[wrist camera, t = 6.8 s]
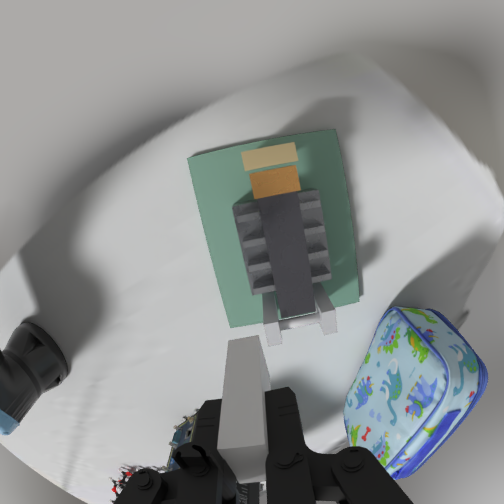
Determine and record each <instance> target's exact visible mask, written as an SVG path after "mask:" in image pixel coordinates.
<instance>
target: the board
mask: <svg viewBox="0 0 504 504" xmlns="http://www.w3.org/2000/svg"><path fill="white" fill-rule="evenodd" d="M187 160H188V164H189V169H190V173H191V178H192V182H193V187H194V191H195V195H196V199H197V204H198V208H199V212H200V216H201V220H202V224H203V228H204V232H205V236H206V240H207V244H208V248H209V252H210V256H211V259H212V263H213V267H214V271H215V275H216V278H217V282H218V286H219V289H220V293H221V297H222V300H223V304H224V307H225V311H226V314H227V318H228V321H229V325H230V328H234V327H240V326H246V325H252V324H258V323H263V325H264V329H265V333H266V338H267V342H268V346H274V345H280V344H282V337H281V330H286V329H291V328H296V327H301V326H305V325H310V324H315V323H319V324H320V327H321V329H322V332H323V334H324V335H327V334H332V333H336V332H337V321H336V310H335V307H340V306H344V305H348V304H352V303H356V302H359V286H358V273H357V262H356V252H355V243H354V234H353V226H352V219H351V212H350V205H349V198H348V192H347V186H346V180H345V174H344V169H343V163H342V158H341V153H340V148H339V144H338V139H337V134H336V130H335V129H332V130H324V131H316V132H309V133H303V134H296V135H290V136H284V137H279V138H273V139H268V140H263V141H258V142H253V143H248V144H243V145H238V146H234V147H230V148H225V149H221V150H217V151H213V152H209V153H205V154H201V155H197V156H193V157H190V158H187ZM290 165H296V168H297V173H298V178H299V183H300V188H301V190H304V189H310V188H315V189H318V190H319V195H320V200H321V206H322V212H323V218H324V225H325V231H326V238H327V245H328V252H329V259H330V267H331V275H332V279H331V280H326V281H322V282H317V283H312V284H313V291H314V299H315V306H316V311H315V313H313V312H311V313H313V314H308V313H306V314H308V315H304V314H301V315H303V316H299V315H296V316H299V317H294V316H291V317H294V318H289V317H286V318H289V319H284V318H281V314H280V309H279V304H278V299H277V294H276V291H273V292H268V293H263V294H258V295H253V296H252V293H251V289H250V284H249V280H248V276H247V272H246V267H245V263H244V259H243V254H242V250H241V246H240V241H239V237H238V233H237V228H236V224H235V220H234V215H233V211H232V206H233V204H234V203H239V202H244V201H248V200H253V199H254V195H253V190H252V186H251V181H250V176H249V174H250V173H254V172H259V171H264V170H269V169H274V168H280V167H285V166H290ZM279 319H284V320H279Z"/></svg>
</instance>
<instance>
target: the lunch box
mask: <svg viewBox="0 0 504 504" xmlns="http://www.w3.org/2000/svg"><path fill="white" fill-rule="evenodd" d="M487 382H488V372H487V369H486V366H485V364H484V363H483V362H482V360H481V359H480V358H479V356H478V355H477V354H476V353H475V352H474V350H473V349H472V348H471V346H470V345H469V344H468V342H467V341H466V340H465V339H464V337H463V336H462V335H461V334H460V333H459V331H458V330H457V329H456V328H455V327H454V326H453V325H452V324H451V323H450V322H449V321H448V320H447V319H446V318H445V317H444V316H443V315H442V314H441V313H439V312H438V311H435V310H433V309H425V310H424V309H415V308H404V307H397V306H395V307H392V308H391V309H389V310H388V311H387V312H386V313H385V314H384V316H383V317H382V319H381V320H380V322H379V324H378V326H377V329H376V331H375V334H374V337H373V340H372V342H371V345H370V347H369V350H368V352H367V355H366V357H365V359H364V362H363V364H362V366H361V367H360V370H359V372H358V374H357V377H356V379H355V381H354V383H353V385H352V386H351V388H350V390H349V392H348V395H347V398H346V402H345V406H344V411H343V414H344V423H345V428H346V433H347V437H348V440H349V444H350V447H351V446H361V447H364V448H367V449H368V450H369V451H371V452H372V453H373V455H374V456H375V457H376V458H377V460H378V461H379V462H380V463H381V465H382V466H383V467H384V468H385V470H386V471H387V472H388V473H389V474H390V476H391V477H392V478H393V479H395V480H397V479H400V478H406V477H409V476H410V475H412V474H413V473H415V472H416V471H417V470H418V469H419V468H420V467H421V466H422V465H423V464H424V463H425V462H426V461H427V460H428V459H429V458H430V457H431V456H432V455H433V454H434V453H435V452H436V451H437V450H438V449H439V448H440V447H441V446H442V445H443V444H444V443H445V441H446V440H447V439H448V438H449V437H450V436H451V435H452V434H453V433H454V432H455V430H456V429H457V428H458V427H459V425H460V424H461V423H462V422H463V421H464V419H465V418H466V417H467V416H468V414H469V413H470V412H471V410H472V409H473V408H474V406H475V405H476V404H477V402H478V401H479V399H480V398H481V396H482V394H483V393H484V391H485V388H486V386H487Z"/></svg>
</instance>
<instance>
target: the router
mask: <svg viewBox="0 0 504 504" xmlns="http://www.w3.org/2000/svg"><path fill="white" fill-rule="evenodd" d="M198 415H199V412H197V413H196V414H195V415H193V416H192V417H188V418H187V419H188V420H186V421H185V422H183V423H182V424H181V425H179V426H178V427H177V426H176V425H175V426H174V427H173V428H174V429H176V432H175V433H174V436H173V440H172V442H173V443H172V442H171V441H170V442H169V445H171V446H172V449H171V452H170V456H169V460H168V463H167V467H165V466H163V467H162V469H163V470H165V472H169V471H174V470H177V469H179V468H180V466H179V465H178V464H177V463H176V462H175V461H174V459H173V458H172V454H173V452H174V451H175V450H176V449H177V448H178V447H179V446H181V445H183V444H185V443H189V442H194V437H195V432H196V428H197V421H198ZM263 486H264V484H260V482H253V483H242V484H240V483H239V482H238V480H237V479H236V489H237V490H238V491H239V495H240V504H259V492H260V491H263Z"/></svg>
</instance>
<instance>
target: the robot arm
mask: <svg viewBox="0 0 504 504" xmlns="http://www.w3.org/2000/svg"><path fill="white" fill-rule="evenodd" d="M66 376H67V365H66V362H65V359H64V357H63V355H62V353H61V351H60V349H59V348H58V346H57V345H56V343H55V342H54V341H53V340H52V339H51V337H50V336H49V335H48V334H47V333H46V332H45V331H43V330H42V329H41V328H39V327H38V326H36V325H34V324H32V323H27V322H26V323H22V324H21V325H20V326H18V327H17V328H16V329H15V330H14V332H13V334H12V335H11V337H10V339H9V341H8V343H7V345H6V347H5V349H4V350H3V351H2V352H1V350H0V434H2V435H9V434H11V433H12V432H13V431H14V429H15V428H16V427H17V426H19V425H20V424H19V423H20V422H21V421H22V419H23V418H24V417H25V415H26V414H27V413H28V411H29V410H30V409H31V407H32V406H33V405H34V403H35V402H36V401H37V399H38V398H39V397H40V396H41V394H43V393H45V392H47V391H49V390H51V389H53V388H54V387H56V386H58V385H60V384H61V383H62V382H63V380H64V379H65V378H66ZM172 458H173V459H174V461H175V462H176V463H177V464H178V465H179V466H180V468H179V469H177V470H174V471H169V472H165V473H161V474H159V473H158V472H157V471H155V470H153V469H147V468H145V469H140V470H138V471H136V472H134V473H133V475H132V476H131V477H130V478H129V480H128V481H127V483H126V485H125V486H124V488H123V490H122V491H121V493H120V494H119V496H118V498H117V499H116V501H115V502H114V504H240V495H239V491H238V490H237V489H236V479H237V480H238V482H239V483H240V484H242V483H253V482H262V481H266V489H267V504H316V500H317V501H336V503H337V504H413V502H412V501H411V500H410V499H409V498H408V496H407V495H406V494H405V493H404V492H403V490H402V489H401V488H400V487H399V485H398V484H397V483H396V482H395V481H394V479H393V478H392V477H391V476H390V474H389V473H388V472H387V471H386V470H385V468H384V467H383V466H382V465H381V463H380V462H379V461H378V460H377V458H376V457H375V456H374V455H373V453H372V452H371V451H369V450H368V449H367V448H364V447H361V446H351V447H348V448H345V449H343V450H341V451H340V452H338V453H337V454H321V453H316V452H314V451H312V450H310V449H309V448H308V447H307V446H306V444H305V440H304V435H303V430H302V425H301V419H300V414H299V410H298V405H297V400H296V396H295V393H294V392H293V391H292V390H291V389H290V388H289V387H285V388H280V389H275V390H271V386H270V376H269V372H268V368H267V365H266V361H265V357H264V354H263V350H262V347H261V343H260V339H259V335H256V336H251V337H246V338H240V339H235V340H230V341H228V350H227V359H226V368H225V377H224V386H223V396H222V399H216V400H207V401H205V402H204V404H203V405H202V407H201V408H200V410H199V415H198V421H197V428H196V432H195V437H194V442H189V443H185V444H183V445H181V446H179V447H178V448H177V449H176V450H175V451H174V452H173V454H172Z"/></svg>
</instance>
